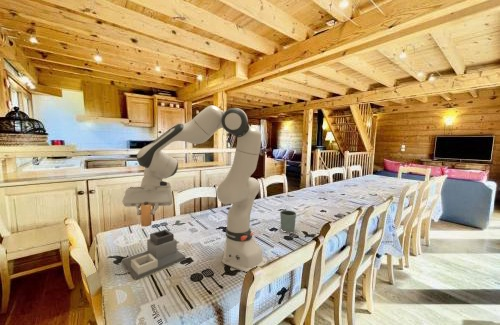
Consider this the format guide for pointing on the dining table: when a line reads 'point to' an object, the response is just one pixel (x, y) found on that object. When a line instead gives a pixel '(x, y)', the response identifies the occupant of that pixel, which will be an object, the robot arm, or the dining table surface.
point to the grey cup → (288, 220)
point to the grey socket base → (154, 255)
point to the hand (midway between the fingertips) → (145, 214)
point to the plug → (145, 214)
